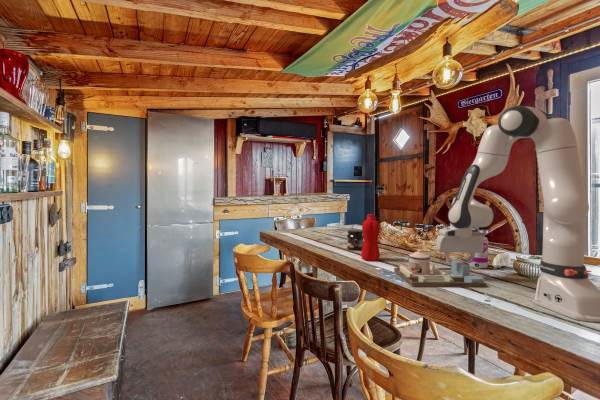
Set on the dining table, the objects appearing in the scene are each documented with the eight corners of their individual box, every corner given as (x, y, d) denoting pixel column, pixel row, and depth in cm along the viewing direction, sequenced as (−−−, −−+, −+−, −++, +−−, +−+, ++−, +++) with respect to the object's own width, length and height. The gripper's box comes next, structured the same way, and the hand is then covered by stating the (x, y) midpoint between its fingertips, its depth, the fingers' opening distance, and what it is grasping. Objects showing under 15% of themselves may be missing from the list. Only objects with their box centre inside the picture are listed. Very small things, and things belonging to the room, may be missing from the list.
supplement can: (490, 269, 154) (491, 239, 154) (471, 268, 156) (472, 238, 155) (484, 265, 162) (485, 236, 162) (466, 264, 164) (467, 235, 163)
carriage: (471, 280, 135) (472, 266, 135) (409, 280, 135) (410, 266, 135) (455, 272, 149) (456, 259, 149) (399, 271, 149) (399, 259, 149)
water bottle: (384, 261, 169) (384, 214, 168) (363, 261, 169) (364, 214, 168) (379, 257, 178) (380, 213, 177) (360, 257, 179) (361, 213, 178)
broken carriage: (485, 286, 128) (485, 279, 128) (423, 285, 128) (423, 279, 128) (477, 282, 134) (477, 275, 133) (418, 281, 133) (418, 275, 133)
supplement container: (343, 248, 205) (343, 229, 205) (357, 247, 210) (357, 229, 209) (352, 251, 196) (353, 232, 195) (366, 250, 200) (367, 231, 200)
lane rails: (486, 287, 127) (486, 283, 127) (411, 286, 127) (412, 282, 127) (457, 271, 150) (457, 268, 150) (394, 271, 150) (394, 267, 150)
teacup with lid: (404, 274, 144) (404, 249, 144) (416, 271, 150) (417, 247, 149) (427, 281, 135) (428, 253, 134) (440, 277, 140) (440, 251, 139)
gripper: (479, 231, 145) (477, 260, 146) (435, 229, 144) (433, 259, 145) (488, 233, 139) (486, 264, 139) (441, 232, 138) (440, 263, 139)
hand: (458, 262), depth 142 cm, fingers open, 8 cm apart
